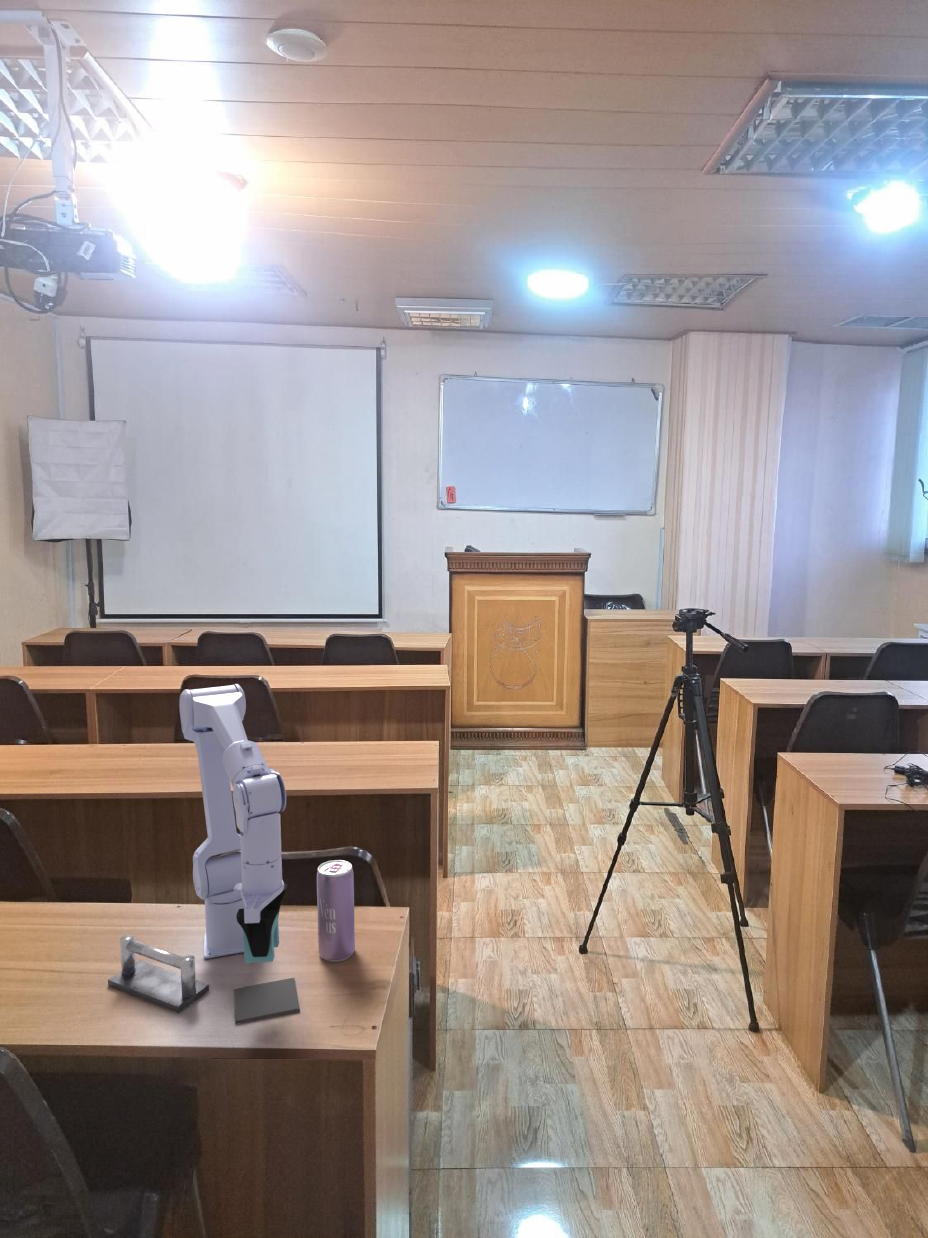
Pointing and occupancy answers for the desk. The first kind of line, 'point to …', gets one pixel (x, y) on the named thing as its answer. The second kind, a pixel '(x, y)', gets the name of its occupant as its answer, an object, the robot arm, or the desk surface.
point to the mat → (265, 1000)
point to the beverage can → (335, 910)
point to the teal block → (273, 943)
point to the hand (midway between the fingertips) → (264, 945)
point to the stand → (157, 976)
